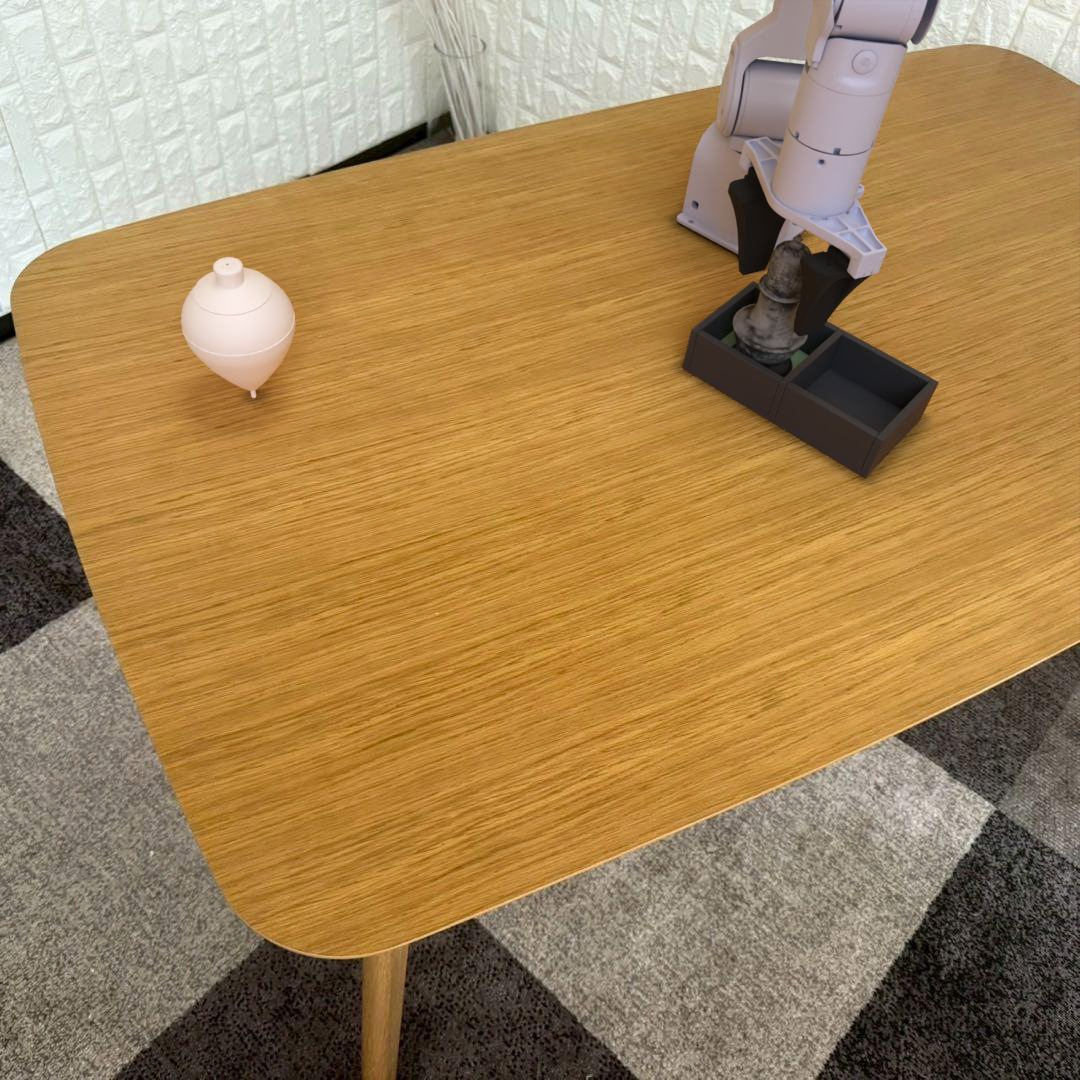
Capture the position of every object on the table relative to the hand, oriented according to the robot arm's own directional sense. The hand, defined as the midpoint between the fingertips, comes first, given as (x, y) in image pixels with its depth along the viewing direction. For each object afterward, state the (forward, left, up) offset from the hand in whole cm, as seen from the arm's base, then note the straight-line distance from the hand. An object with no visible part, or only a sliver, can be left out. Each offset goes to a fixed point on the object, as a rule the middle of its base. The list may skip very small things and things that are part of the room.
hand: (778, 299), depth 77 cm
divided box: (+4, 0, -7) cm, 8 cm away
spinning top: (-25, -31, -7) cm, 40 cm away
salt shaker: (0, 0, -6) cm, 6 cm away
